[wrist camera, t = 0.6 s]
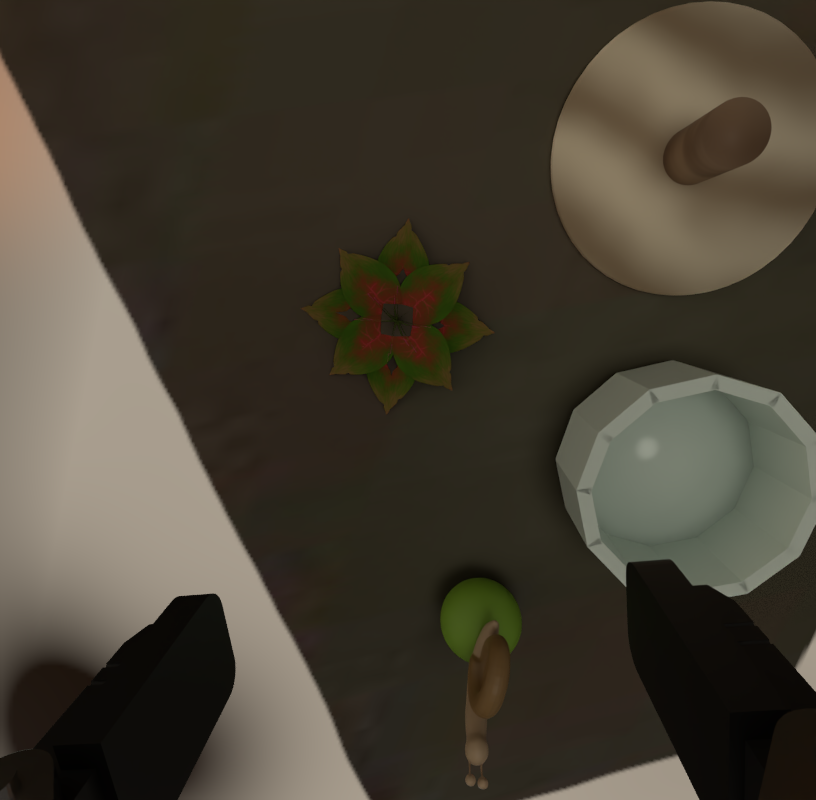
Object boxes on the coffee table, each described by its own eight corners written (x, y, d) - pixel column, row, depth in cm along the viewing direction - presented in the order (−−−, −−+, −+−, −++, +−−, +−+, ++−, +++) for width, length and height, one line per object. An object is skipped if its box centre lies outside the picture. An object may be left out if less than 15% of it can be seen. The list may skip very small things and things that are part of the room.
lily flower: (526, 336, 35) (538, 342, 30) (384, 442, 37) (375, 463, 33) (413, 184, 34) (409, 168, 29) (272, 304, 36) (247, 306, 31)
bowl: (594, 337, 34) (630, 348, 28) (788, 393, 34) (868, 418, 28) (529, 517, 37) (547, 564, 31) (708, 569, 37) (764, 627, 31)
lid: (603, -25, 30) (642, -98, 25) (871, 55, 31) (974, 0, 25) (514, 254, 34) (529, 248, 28) (755, 325, 34) (821, 333, 28)
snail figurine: (429, 632, 39) (424, 778, 28) (450, 555, 38) (455, 674, 26) (500, 649, 39) (526, 803, 28) (524, 573, 38) (562, 700, 26)
